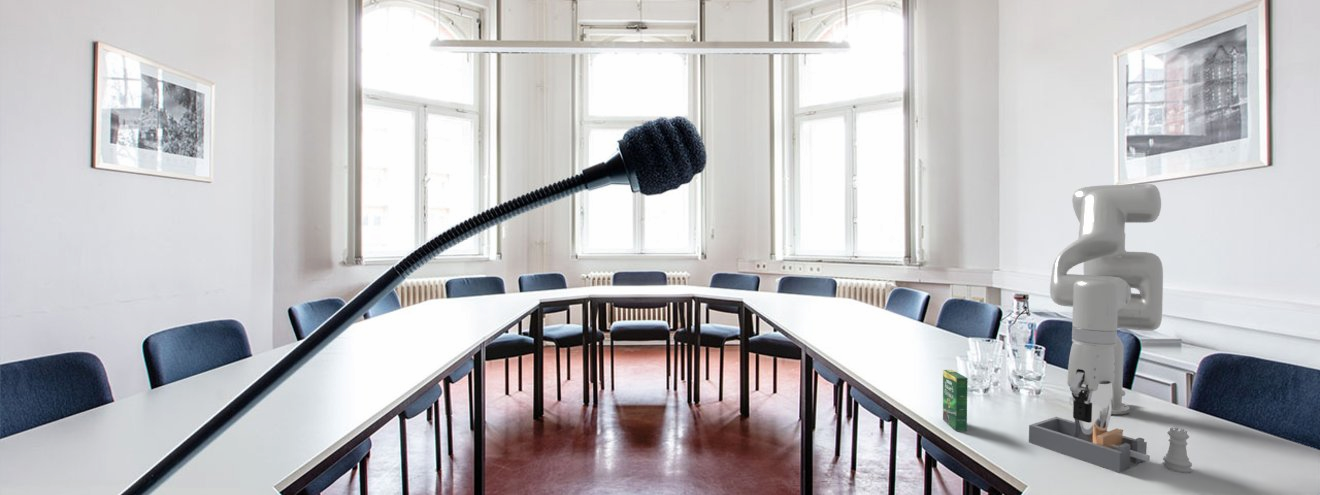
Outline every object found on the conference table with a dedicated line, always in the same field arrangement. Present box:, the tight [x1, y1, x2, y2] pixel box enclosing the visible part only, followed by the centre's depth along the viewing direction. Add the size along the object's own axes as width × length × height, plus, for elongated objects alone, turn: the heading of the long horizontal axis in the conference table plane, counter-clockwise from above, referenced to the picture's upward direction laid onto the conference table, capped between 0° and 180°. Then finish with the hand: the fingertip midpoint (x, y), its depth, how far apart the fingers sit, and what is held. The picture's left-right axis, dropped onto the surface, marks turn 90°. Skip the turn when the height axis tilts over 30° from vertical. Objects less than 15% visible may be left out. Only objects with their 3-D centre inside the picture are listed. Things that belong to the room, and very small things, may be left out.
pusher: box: [1097, 428, 1151, 462], centre depth 111 cm, size 8×7×5 cm
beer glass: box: [1071, 381, 1113, 444], centre depth 117 cm, size 7×7×15 cm
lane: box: [1028, 416, 1148, 474], centre depth 118 cm, size 11×17×5 cm
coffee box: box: [942, 369, 969, 432], centre depth 133 cm, size 8×3×13 cm, turn 174°
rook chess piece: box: [1161, 427, 1193, 474], centre depth 109 cm, size 4×4×8 cm
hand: (1091, 416), depth 117 cm, fingers closed on beer glass, 6 cm apart
